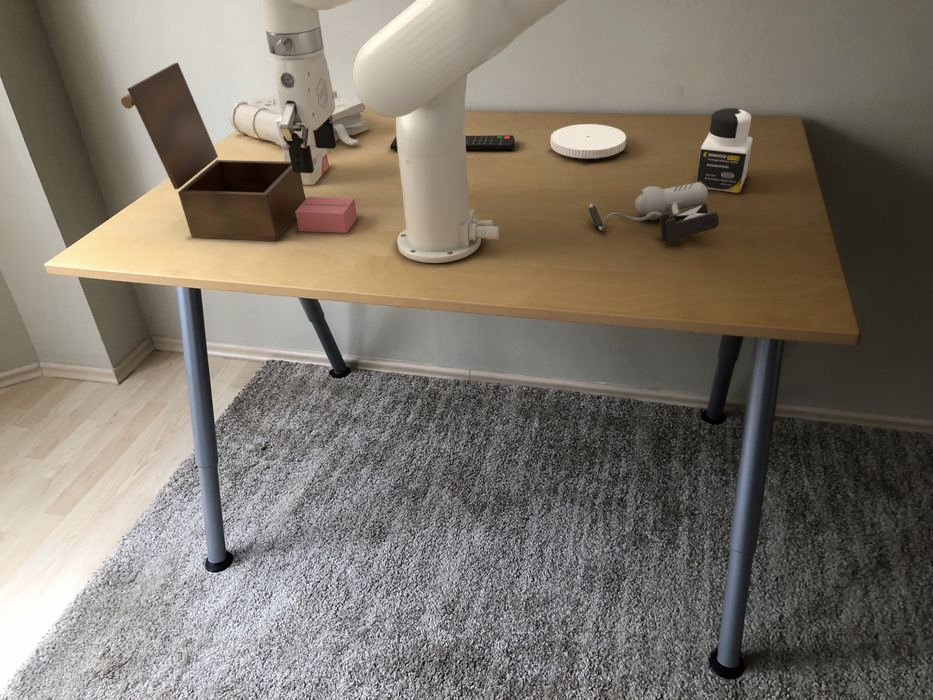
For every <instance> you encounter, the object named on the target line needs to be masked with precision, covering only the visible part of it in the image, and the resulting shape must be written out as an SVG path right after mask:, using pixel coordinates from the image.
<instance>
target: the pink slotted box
mask: <svg viewBox="0 0 933 700" xmlns="http://www.w3.org/2000/svg"><path fill="white" fill-rule="evenodd" d="M295 213H296V223H297V227H298V231H299V232H308V233H309V232H311V233H312V232H313V233H334V234H335V233H336V234H347V233H348V232H349V230H350V229H351V227H352V226H353V225H354V224H355V222H356V220H357V219H358V212H357V206H356V200H355V198H353V197H352V198H351V197H322V196H307V197H306V200H305V201H304V202H303V203H302V204H301V206H300V207H299V208H298V209H297V210H296V211H295Z"/></svg>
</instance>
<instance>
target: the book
mask: <svg viewBox="0 0 933 700" xmlns="http://www.w3.org/2000/svg"><path fill="white" fill-rule="evenodd" d="M333 96H334V101H335V111H334V112H333V114H332V116H333V121H332V122H329V123H333V129H334V136H335V141H338V140H340V141H341V142H343V144H346V145H350V146H353V145H357V144H358V143H360V141H359V140H358V139H354V138H351V137H350V136H354V135H357V134H360V133H362V132H365V131H367V130H369V125H368V121H367V120H365V119H362V117H363V115H361V113H362V112H364V111H365V110H366V106H365V105H364V104H363V103H362V102H361V100H360V99H356V98H355V99H354V98H344V97H341V96H338V91H336V90H333ZM229 113H230V114H229V121H230V125H231V127H232V128H233V130H235V132H236V133H238V134H242V135H245V136H249V137H252V138H255V139H259V140H262V141H268V142H269V141H270V142H273V143H275V145H277V146H281V142H280V138H279V133H278V129H277V124H276V121H277V120H278V119H279V118H280V117H281V113H280V107H279V101H278V95H277V92H275V93H272V94H270V95H266V96H263V97H260V98H257V99H255V100H251V101H243V100H242V101H237V102H235V103H234V104H233V106H232V107H231V108H230V112H229Z"/></svg>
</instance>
